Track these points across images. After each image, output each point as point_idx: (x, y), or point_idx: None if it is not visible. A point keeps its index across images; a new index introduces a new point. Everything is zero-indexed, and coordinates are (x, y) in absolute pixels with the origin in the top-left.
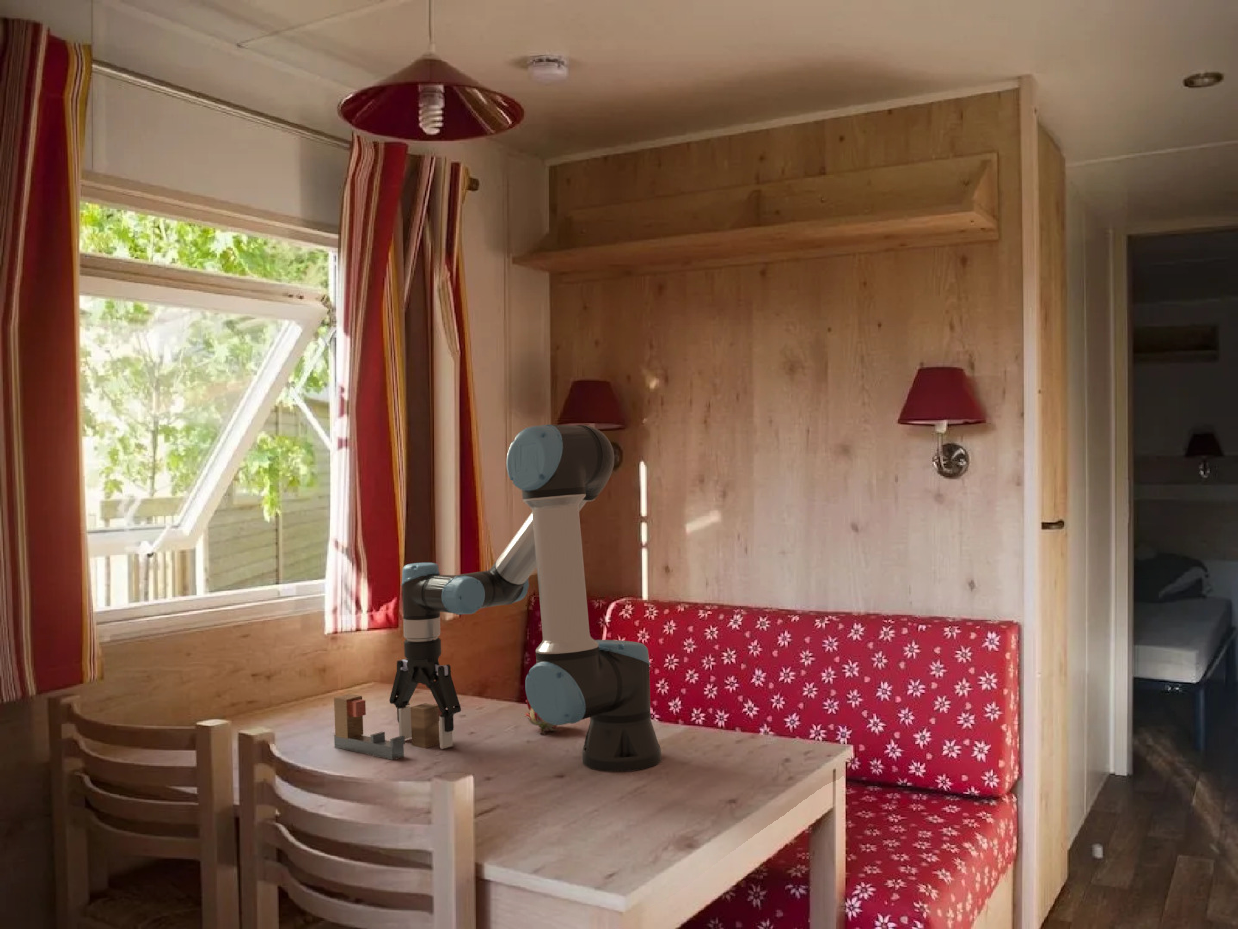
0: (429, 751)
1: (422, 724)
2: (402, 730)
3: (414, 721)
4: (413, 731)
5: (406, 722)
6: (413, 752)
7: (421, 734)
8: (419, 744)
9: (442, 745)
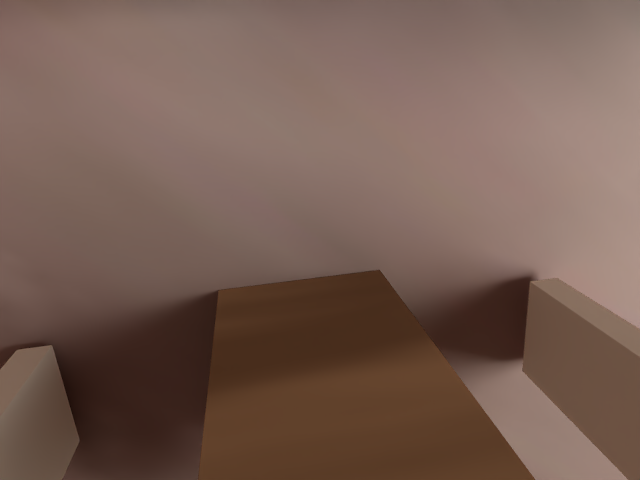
0: (101, 261)
1: (244, 423)
2: (581, 328)
3: (406, 409)
4: (390, 333)
5: (623, 415)
6: (187, 152)
7: (261, 342)
8: (289, 291)
9: (3, 366)
